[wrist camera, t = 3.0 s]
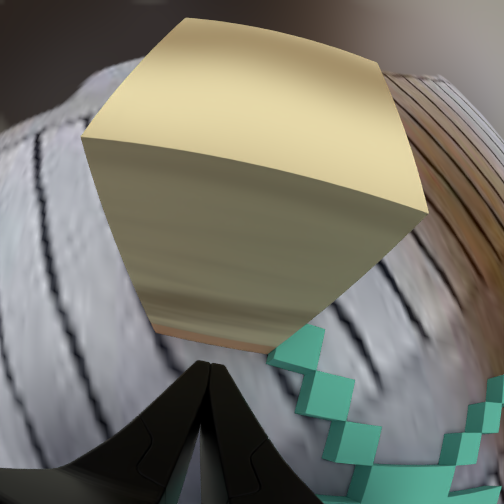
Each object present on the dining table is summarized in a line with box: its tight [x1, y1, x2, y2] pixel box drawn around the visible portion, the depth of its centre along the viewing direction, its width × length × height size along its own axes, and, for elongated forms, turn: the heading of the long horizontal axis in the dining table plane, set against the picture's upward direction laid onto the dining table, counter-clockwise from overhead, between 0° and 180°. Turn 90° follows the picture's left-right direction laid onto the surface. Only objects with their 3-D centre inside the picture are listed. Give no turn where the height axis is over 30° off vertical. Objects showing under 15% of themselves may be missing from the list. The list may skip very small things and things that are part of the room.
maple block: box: [81, 18, 429, 354], centre depth 12 cm, size 6×6×13 cm
